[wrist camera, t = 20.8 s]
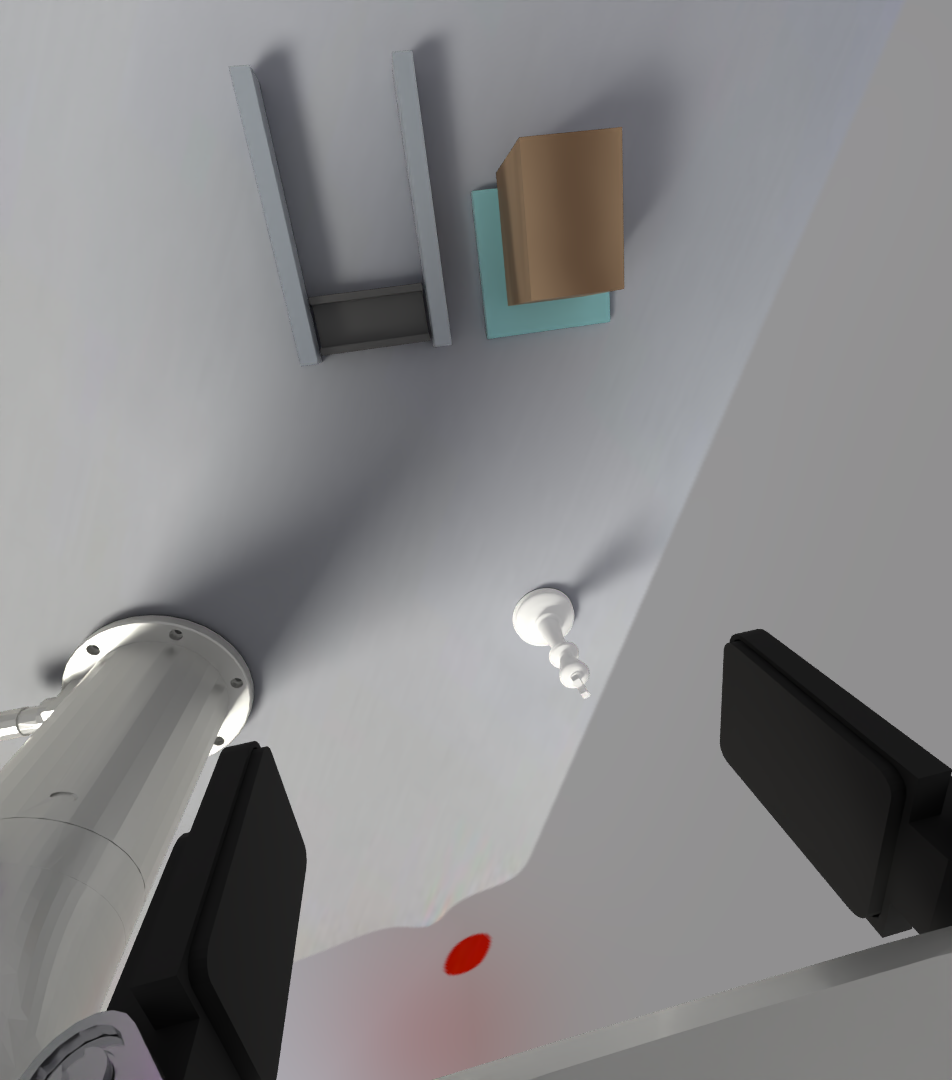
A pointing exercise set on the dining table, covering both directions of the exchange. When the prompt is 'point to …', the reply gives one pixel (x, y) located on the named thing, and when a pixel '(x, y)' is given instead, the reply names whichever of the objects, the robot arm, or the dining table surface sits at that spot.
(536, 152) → the walnut block
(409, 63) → the grey twin-rail rack
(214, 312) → the dining table surface
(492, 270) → the pad
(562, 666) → the chess piece
